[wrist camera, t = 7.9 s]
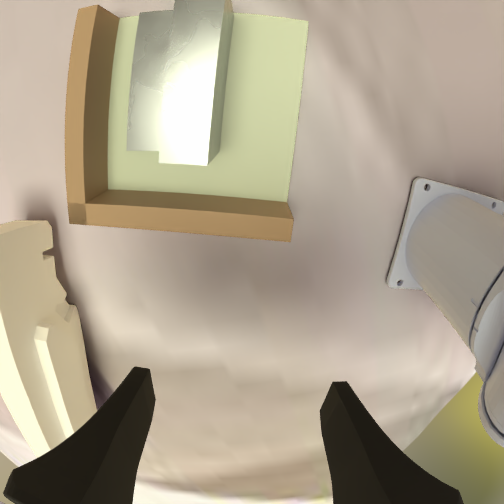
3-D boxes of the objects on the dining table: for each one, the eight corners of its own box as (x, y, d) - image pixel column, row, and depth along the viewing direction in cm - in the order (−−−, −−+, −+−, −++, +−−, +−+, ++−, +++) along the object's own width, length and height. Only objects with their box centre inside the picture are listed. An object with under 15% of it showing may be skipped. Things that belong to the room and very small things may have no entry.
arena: (306, 24, 13) (320, 4, 10) (283, 218, 18) (290, 242, 15) (106, 23, 13) (78, 9, 10) (96, 204, 18) (69, 223, 15)
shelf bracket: (91, 419, 29) (52, 493, 17) (52, 209, 23) (-49, 236, 11) (131, 429, 29) (100, 510, 17) (101, 209, 23) (0, 238, 11)
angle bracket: (219, 151, 16) (207, 165, 12) (134, 148, 16) (94, 162, 11) (234, 16, 13) (227, -19, 8) (146, 18, 13) (111, -10, 8)
